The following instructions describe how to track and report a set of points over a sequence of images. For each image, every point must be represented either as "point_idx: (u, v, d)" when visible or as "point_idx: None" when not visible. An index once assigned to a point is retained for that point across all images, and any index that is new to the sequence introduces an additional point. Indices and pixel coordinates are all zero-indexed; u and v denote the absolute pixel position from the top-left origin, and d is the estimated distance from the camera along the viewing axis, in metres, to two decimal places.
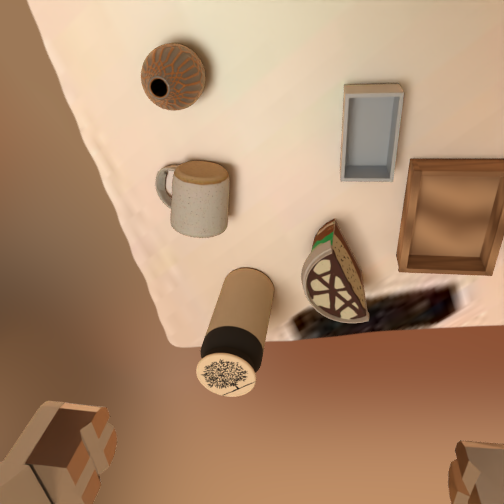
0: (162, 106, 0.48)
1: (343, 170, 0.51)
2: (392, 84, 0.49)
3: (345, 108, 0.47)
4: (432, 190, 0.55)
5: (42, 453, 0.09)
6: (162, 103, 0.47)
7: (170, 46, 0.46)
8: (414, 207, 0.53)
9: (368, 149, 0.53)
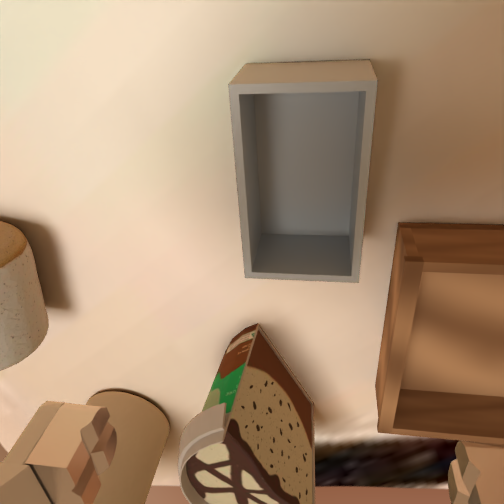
0: None
1: (248, 257, 0.23)
2: (354, 62, 0.20)
3: (234, 121, 0.19)
4: (445, 285, 0.26)
5: (43, 453, 0.09)
6: None
7: None
8: (408, 330, 0.24)
9: (309, 204, 0.25)
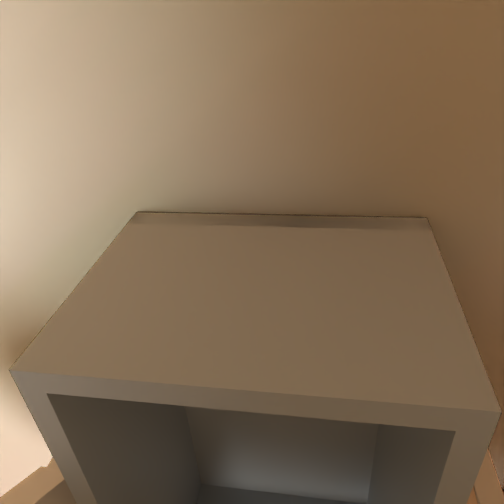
0: None
1: None
2: (391, 231, 0.08)
3: (52, 439, 0.07)
4: None
5: None
6: None
7: None
8: None
9: (289, 455, 0.13)
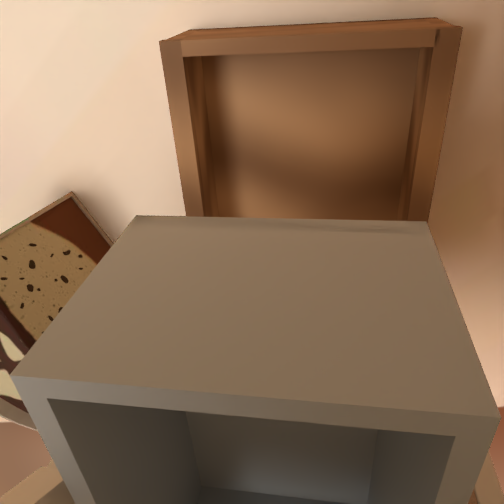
0: None
1: None
2: (390, 235, 0.08)
3: (53, 443, 0.07)
4: (256, 115, 0.22)
5: None
6: None
7: None
8: (192, 153, 0.20)
9: (289, 457, 0.13)
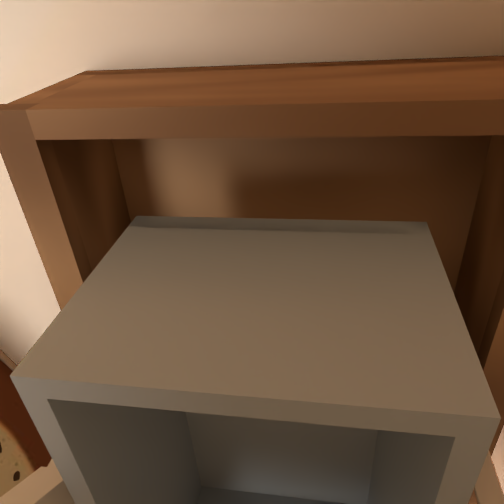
0: None
1: None
2: (390, 235, 0.08)
3: (53, 444, 0.07)
4: (207, 210, 0.13)
5: None
6: None
7: None
8: None
9: (289, 458, 0.13)
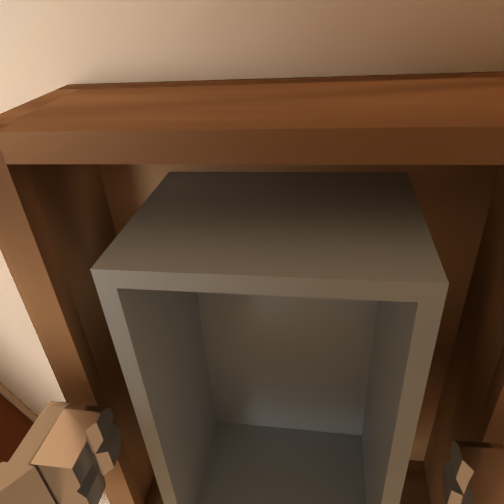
0: None
1: None
2: (377, 181, 0.10)
3: (116, 332, 0.09)
4: None
5: (48, 454, 0.09)
6: None
7: None
8: (62, 328, 0.10)
9: (295, 390, 0.15)
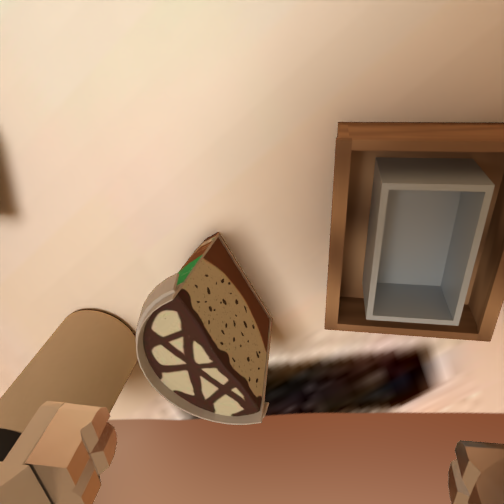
0: None
1: (372, 303, 0.29)
2: (462, 161, 0.27)
3: (381, 207, 0.26)
4: None
5: (42, 453, 0.09)
6: None
7: None
8: (343, 214, 0.27)
9: (412, 260, 0.32)
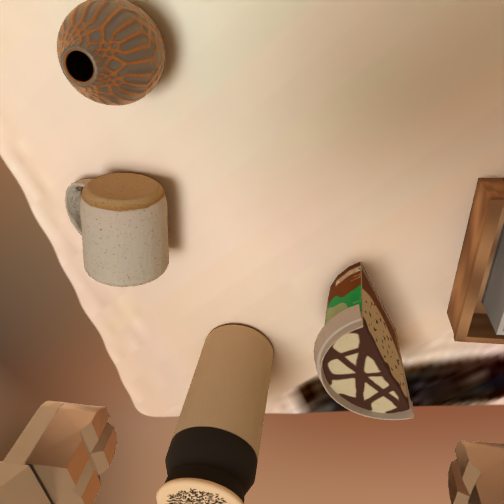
0: (93, 98, 0.30)
1: (503, 322, 0.36)
2: None
3: None
4: None
5: (43, 453, 0.09)
6: (91, 92, 0.29)
7: None
8: (487, 253, 0.34)
9: None
